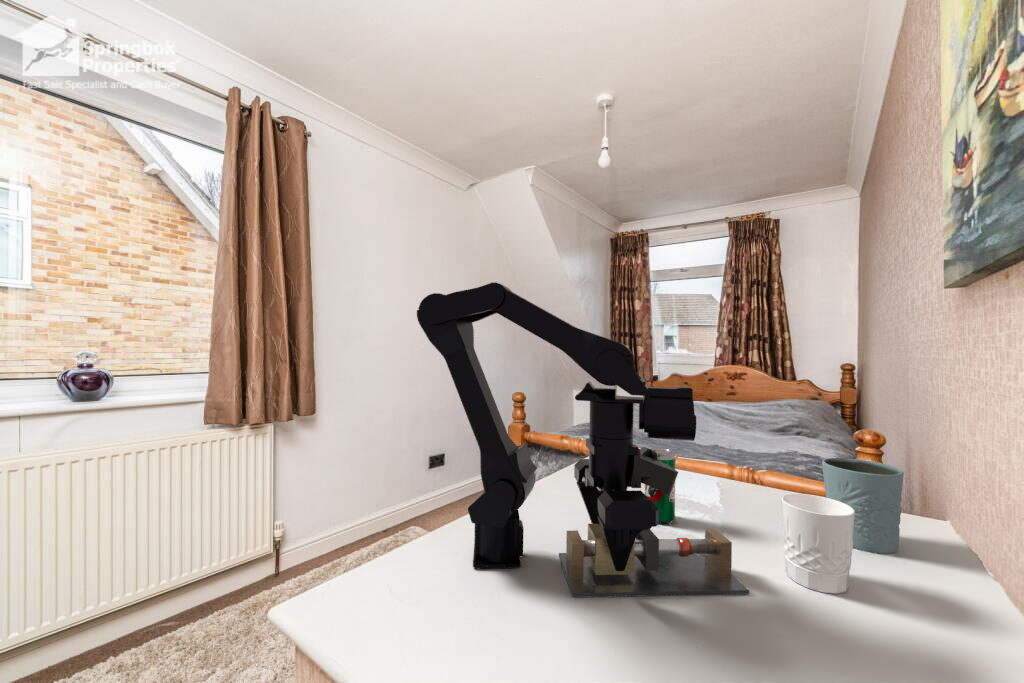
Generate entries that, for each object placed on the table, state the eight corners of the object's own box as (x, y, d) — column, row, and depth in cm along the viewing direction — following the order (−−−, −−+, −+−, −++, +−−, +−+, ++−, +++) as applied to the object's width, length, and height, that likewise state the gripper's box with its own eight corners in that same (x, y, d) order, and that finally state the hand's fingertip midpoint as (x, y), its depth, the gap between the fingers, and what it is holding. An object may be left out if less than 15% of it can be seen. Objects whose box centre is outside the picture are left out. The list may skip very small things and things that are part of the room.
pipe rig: (572, 597, 52) (572, 555, 52) (558, 556, 62) (559, 521, 62) (748, 594, 53) (749, 553, 53) (707, 554, 63) (708, 520, 63)
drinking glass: (895, 563, 62) (896, 479, 62) (812, 537, 69) (813, 463, 70) (908, 543, 68) (909, 466, 68) (831, 522, 76) (832, 453, 76)
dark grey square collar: (646, 570, 56) (646, 539, 56) (635, 555, 60) (636, 526, 60) (658, 570, 56) (658, 539, 56) (647, 555, 60) (647, 526, 60)
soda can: (677, 526, 73) (677, 455, 73) (646, 523, 74) (646, 453, 74) (672, 514, 78) (673, 448, 78) (643, 512, 79) (643, 446, 79)
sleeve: (595, 574, 55) (596, 538, 55) (587, 557, 60) (587, 523, 60) (634, 574, 55) (634, 538, 55) (623, 556, 60) (623, 523, 60)
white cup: (821, 601, 52) (822, 518, 52) (766, 568, 60) (767, 495, 60) (870, 592, 54) (870, 512, 54) (811, 561, 62) (812, 491, 62)
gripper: (704, 453, 49) (703, 591, 49) (645, 422, 67) (643, 522, 67) (607, 452, 48) (605, 593, 48) (574, 422, 67) (572, 523, 67)
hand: (609, 552), depth 58 cm, fingers open, 9 cm apart
